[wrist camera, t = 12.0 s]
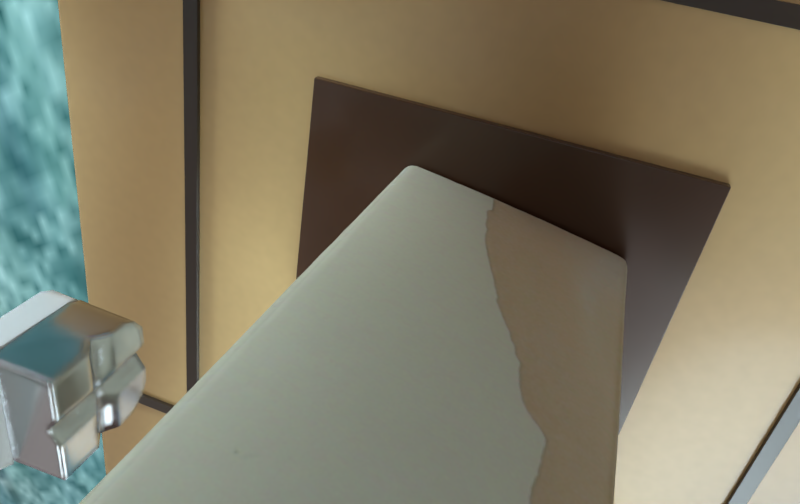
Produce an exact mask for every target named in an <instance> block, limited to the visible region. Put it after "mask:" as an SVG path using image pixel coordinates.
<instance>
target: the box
mask: <svg viewBox="0 0 800 504" xmlns="http://www.w3.org/2000/svg"><path fill="white" fill-rule="evenodd" d="M626 283H627V264H626V261H625V260H624V259H623V258H621V257H620V256H618V255H616V254H614V253H612V252H610V251H608V250H606V249H604V248H601V247H599V246H597V245H595V244H593V243H591V242H589V241H587V240H585V239H582V238H580V237H578V236H576V235H574V234H571V233H569V232H567V231H565V230H563V229H561V228H559V227H556V226H554V225H552V224H550V223H548V222H546V221H544V220H541V219H539V218H537V217H534V216H532V215H530V214H528V213H526V212H523V211H521V210H518V209H516V208H514V207H512V206H509V205H507V204H505V203H503V202H501V201H498V200H496V199H494V198H492V197H489V196H487V195H485V194H482V193H480V192H478V191H475V190H473V189H471V188H468V187H466V186H464V185H461V184H458V183H456V182H454V181H452V180H449V179H447V178H444V177H442V176H440V175H437V174H435V173H432V172H430V171H428V170H425V169H423V168H420V167H418V166H408V167H406V168H405V169H404V170H403V171H402V172H401V173H400V174H399V175H398V176H397V177H396V178H395V179H394V180H393V181H392V182H391V183H390V184H389V185H388V186H387V187H386V188H385V189H384V190H383V191H382V192H381V193H380V194H379V195H378V196H377V197H376V198H375V199H374V200H373V202H372V203H371V204H370V205H369V206H368V207H367V208H366V209H365V210H364V211H363V212H362V213H361V214H360V215H359V216H358V217H357V218H356V219H355V220H354V221H353V222H352V223H351V224H350V225H349V226H348V227H347V228H346V229H345V230H344V231H343V232H342V233H341V234H340V235H339V237H338V238H337V239H336V240H335V241H334V242H333V243H332V244H331V245H330V246H329V247H328V248H327V249H326V250H325V251H324V252H323V253H322V254H321V255H320V256H319V257H318V258H317V259H316V260H315V261H314V262H313V263H312V264H311V265H310V266H309V267H308V268H307V269H306V270H305V271H304V272H303V273H302V274H301V275H300V276H299V277H298V278H297V279H296V280H295V281H294V282H293V283H292V284H291V285H290V286H289V287H288V289H287V290H286V291H285V292H284V293H283V294H282V295H281V296H280V297H279V298H278V299H277V300H276V301H275V302H274V303H273V304H272V305H271V306H270V307H269V308H268V309H267V310H266V311H265V312H264V314H263V315H262V316H261V317H260V318H259V319H258V320H257V321H256V322H255V323H254V324H253V325H252V326H251V327H250V328H249V329H248V330H247V331H246V332H245V333H244V334H243V335H242V336H241V337H240V338H239V339H238V341H237V342H236V343H235V344H234V345H233V346H232V347H231V348H230V349H229V350H228V351H227V352H226V353H225V354H224V355H223V356H222V357H221V358H220V359H219V360H218V361H217V362H216V363H215V364H214V365H213V366H212V367H211V368H210V369H209V370H208V371H207V373H206V374H205V375H204V376H203V377H202V378H201V379H200V380H199V381H198V382H197V383H196V384H195V385H194V386H193V387H192V388H191V389H190V390H189V391H188V392H187V393H186V394H185V395H184V396H183V397H182V398H181V399H180V400H179V401H178V403H177V404H176V405H175V406H174V407H173V408H172V409H171V410H170V411H169V412H168V413H167V414H166V415H165V416H164V417H163V418H162V419H161V420H160V421H159V422H158V423H157V424H156V425H155V426H154V427H153V428H152V429H151V430H150V431H149V432H148V433H147V434H146V436H145V437H144V438H143V439H142V440H141V441H140V442H139V443H138V444H137V445H136V446H135V447H134V448H133V449H132V450H131V451H130V452H129V453H128V454H127V455H126V456H125V457H124V458H123V459H122V460H121V461H120V462H119V463H118V464H117V465H116V466H115V467H114V468H113V469H112V470H111V471H110V472H109V473H108V474H107V475H106V476H105V477H104V478H103V479H102V480H101V481H100V482H99V483H98V484H97V485H96V486H95V487H94V489H93V490H92V491H91V492H90V493H89V494H88V495H87V496H86V497H85V498H84V499H83V500H82V501H81V502H80V503H79V504H613V503H614V488H615V475H616V461H617V448H618V434H619V416H620V397H621V379H622V355H623V337H624V315H625V297H626Z"/></svg>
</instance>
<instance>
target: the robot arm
mask: <svg viewBox="0 0 800 504" xmlns="http://www.w3.org/2000/svg"><path fill="white" fill-rule="evenodd" d="M143 345H144V337H143V327H142V326H141V325H139V324H138V323H136V322H135V321H132V320H130V319H127V318H124V317H122V316H119V315H117V314H114V313H112V312H109V311H107V310H104V309H101V308H99V307H96V306H94V305H91V304H89V303H86V302H84V301H81V300H77V299H74V298H72V297H69V296H67V295H64V294H61V293H59V292H56V291H54V290H50V291H43V292H39V293H38V294H36V295H35V296H33V297H32V298H30V299H29V300H27V301H25V302H24V303H22V304H21V305H19V306H18V307H16V308H15V309H13V310H11V311H10V312H8V313H7V314H5V315H4V316H2V317H1V318H0V470H1V469H3V468H6V467H8V466H10V465H12V464H13V463H14V461H17V462H19V463H22V464H24V465H27V466H30V467H32V468H35V469H37V470H40V471H42V472H45V473H48V474H50V475H53V476H55V477H58V478H60V479H63V480H66V479H67V478H68V477H69V476H70V475H71V474H72V473H73V472H74V471H75V470H76V469H77V468H79V467H80V466H81V465H82V464H83V463H84V462H85V461H86V460H87V459H88V458H89V457H90V456H91V455H92V454H93V453H94V452H95V451H96V450H97V449H98V448H99V440H100V433H102V432H105V431H108V430H111V429H114V428H117V427H119V426H121V425H122V424H123V422H124V421H125V420H126V419H127V418H128V417H129V416H130V415H131V414H132V413H133V412H134V410H135V408H136V406H137V404H138V403H139V401H140V399H141V397H142V395H143V392H144V387H145V383H146V368H145V366H144V364H143V363H142V361H141V360H140V358H139V356H138V355H137V353H136V352H137V351H138V350H139V349H140V348H141V347H142V346H143ZM13 460H14V461H13Z"/></svg>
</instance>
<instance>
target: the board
mask: <svg viewBox="0 0 800 504" xmlns="http://www.w3.org/2000/svg"><path fill="white" fill-rule="evenodd" d="M58 8H59V18H60V27H61V37H62V47H63V57H64V67H65V76H66V86H67V96H68V106H69V116H70V125H71V135H72V145H73V155H74V165H75V174H76V184H77V194H78V204H79V214H80V223H81V233H82V243H83V253H84V263H85V272H86V282H87V292H88V302H89V304H91V305H94V306H96V307H99V308H101V309H104V310H107V311H109V312H112V313H114V314H117V315H119V316H122V317H124V318H127V319H130V320H132V321H135V322H136V323H138V324H139V325H141V326H142V327H143V337H144V345H143V346H142V347H141V348H140V349H139V350H138V351H137V352H136V353H137V355H138V356H139V358H140V360H141V361H142V363H143V364H144V366H145V368H146V383H145V387H144V392H143V395H142V397H141V399H140V401H139V403H138V404H137V406H136V408H135V410H134V412H133V413H132V414H131V415H130V416H129V417H128V418H127V419H126V420H125V421H124V422H123V424H122V425H121V426H119V427H117V428H114V429H111V430H108V431H105V432H102V439H103V449H104V458H105V468H106V475H107V474H108V473H109V472H110V471H111V470H112V469H113V468H114V467H115V466H116V465H117V464H118V463H119V462H120V461H121V460H122V459H123V458H124V457H125V456H126V455H127V454H128V453H129V452H130V451H131V450H132V449H133V448H134V447H135V446H136V445H137V444H138V443H139V442H140V441H141V440H142V439H143V438H144V437H145V436H146V434H147V433H148V432H149V431H150V430H151V429H152V428H153V427H154V426H155V425H156V424H157V423H158V422H159V421H160V420H161V419H162V418H163V417H164V416H165V415H166V414H167V413H168V412H169V411H170V410H171V409H172V408H173V407H174V406H175V405H176V404H177V403H178V401H179V400H180V399H181V398H182V397H183V396H184V395H185V394H186V393H187V392H188V391H189V390H190V389H191V388H192V387H193V386H194V385H195V384H196V383H197V382H198V381H199V380H200V379H201V378H202V377H203V376H204V375H205V374H206V373H207V371H208V370H209V369H210V368H211V367H212V366H213V365H214V364H215V363H216V362H217V361H218V360H219V359H220V358H221V357H222V356H223V355H224V354H225V353H226V352H227V351H228V350H229V349H230V348H231V347H232V346H233V345H234V344H235V343H236V342H237V341H238V339H239V338H240V337H241V336H242V335H243V334H244V333H245V332H246V331H247V330H248V329H249V328H250V327H251V326H252V325H253V324H254V323H255V322H256V321H257V320H258V319H259V318H260V317H261V316H262V315H263V314H264V312H265V311H266V310H267V309H268V308H269V307H270V306H271V305H272V304H273V303H274V302H275V301H276V300H277V299H278V298H279V297H280V296H281V295H282V294H283V293H284V292H285V291H286V290H287V289H288V287H289V286H290V285H291V284H292V283H293V282H294V281H295V280H296V279H297V278H298V277H299V276H300V275H301V274H302V273H303V272H304V271H305V270H306V269H307V268H308V267H309V266H310V265H311V264H312V263H313V262H314V261H315V260H316V259H317V258H318V257H319V256H320V255H321V254H322V253H323V252H324V251H325V250H326V249H327V248H328V247H329V246H330V245H331V244H332V243H333V242H334V241H335V240H336V239H337V238H338V237H339V235H340V234H341V233H342V232H343V231H344V230H345V229H346V228H347V227H348V226H349V225H350V224H351V223H352V222H353V221H354V220H355V219H356V218H357V217H358V216H359V215H360V214H361V213H362V212H363V211H364V210H365V209H366V208H367V207H368V206H369V205H370V204H371V203H372V202H373V200H374V199H375V198H376V197H377V196H378V195H379V194H380V193H381V192H382V191H383V190H384V189H385V188H386V187H387V186H388V185H389V184H390V183H391V182H392V181H393V180H394V179H395V178H396V177H397V176H398V175H399V174H400V173H401V172H402V171H403V170H404V169H405V168H406V167H408V166H418V167H420V168H423V169H425V170H428V171H430V172H432V173H435V174H437V175H440V176H442V177H444V178H447V179H449V180H452V181H454V182H456V183H458V184H461V185H464V186H466V187H468V188H471V189H473V190H475V191H478V192H480V193H482V194H485V195H487V196H489V197H492V198H494V199H496V200H498V201H501V202H503V203H505V204H507V205H509V206H512V207H514V208H516V209H518V210H521V211H523V212H526V213H528V214H530V215H532V216H534V217H537V218H539V219H541V220H544V221H546V222H548V223H550V224H552V225H554V226H556V227H559V228H561V229H563V230H565V231H567V232H569V233H571V234H574V235H576V236H578V237H580V238H582V239H585V240H587V241H589V242H591V243H593V244H595V245H597V246H599V247H601V248H604V249H606V250H608V251H610V252H612V253H614V254H616V255H618V256H620V257H621V258H623V259H624V260H625V261H626V264H627V283H626V297H625V315H624V337H623V355H622V379H621V397H620V416H619V434H618V448H617V461H616V475H615V488H614V503H613V504H800V0H58Z"/></svg>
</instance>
